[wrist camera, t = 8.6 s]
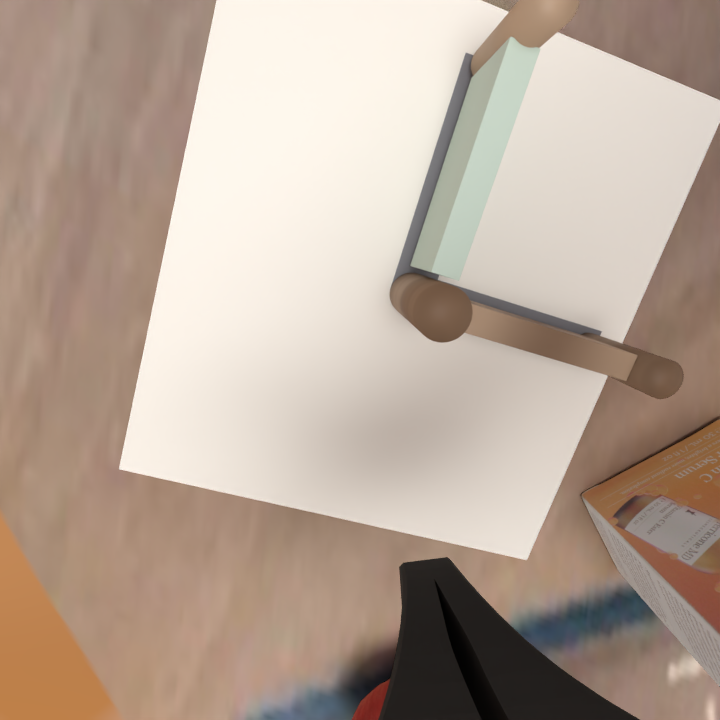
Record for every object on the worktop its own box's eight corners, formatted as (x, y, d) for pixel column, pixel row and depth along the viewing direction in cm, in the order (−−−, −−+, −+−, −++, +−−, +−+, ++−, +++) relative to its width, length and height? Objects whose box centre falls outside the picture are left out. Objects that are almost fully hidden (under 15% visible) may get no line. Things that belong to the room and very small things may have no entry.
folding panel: (437, 274, 19) (477, 286, 14) (405, 264, 19) (434, 273, 14) (513, 51, 17) (587, -20, 13) (478, 38, 17) (541, -40, 12)
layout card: (721, 105, 19) (729, 103, 19) (524, 556, 24) (527, 560, 24) (239, -96, 16) (237, -103, 16) (121, 465, 21) (118, 469, 21)
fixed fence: (607, 332, 21) (704, 364, 16) (591, 370, 21) (680, 413, 16) (397, 267, 20) (426, 277, 14) (384, 308, 20) (407, 333, 15)
